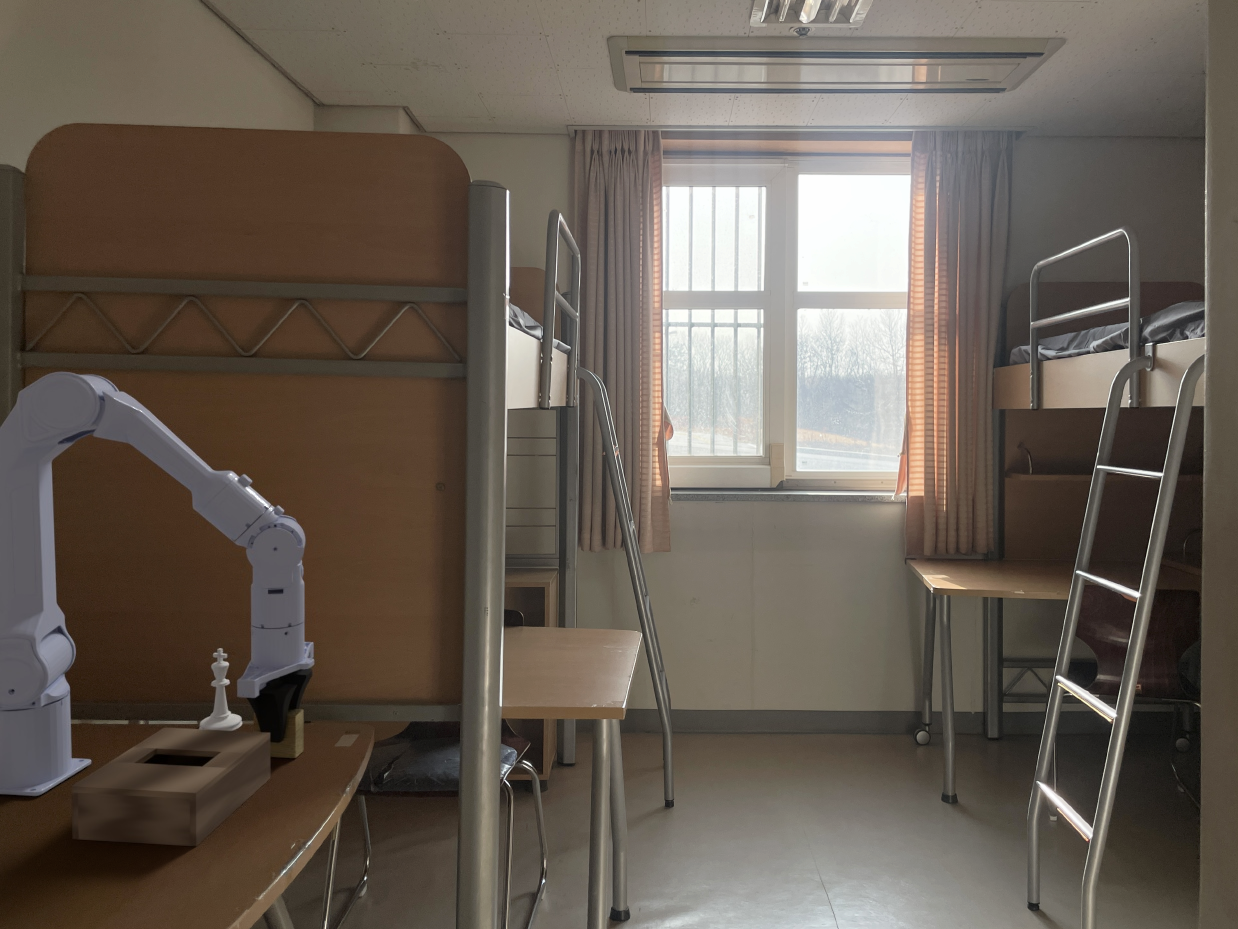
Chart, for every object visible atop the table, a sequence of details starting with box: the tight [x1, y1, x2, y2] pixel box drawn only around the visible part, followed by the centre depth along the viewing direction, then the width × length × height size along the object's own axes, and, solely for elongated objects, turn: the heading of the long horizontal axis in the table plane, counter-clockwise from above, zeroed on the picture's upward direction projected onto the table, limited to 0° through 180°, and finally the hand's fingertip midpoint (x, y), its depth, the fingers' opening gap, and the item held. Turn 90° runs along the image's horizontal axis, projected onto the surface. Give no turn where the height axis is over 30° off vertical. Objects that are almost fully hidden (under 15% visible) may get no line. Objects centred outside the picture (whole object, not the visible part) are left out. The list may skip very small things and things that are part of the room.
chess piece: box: [198, 648, 243, 731], centre depth 103 cm, size 5×5×10 cm
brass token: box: [253, 708, 304, 759], centre depth 95 cm, size 5×2×5 cm, turn 86°
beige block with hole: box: [70, 727, 271, 847], centre depth 83 cm, size 12×14×5 cm
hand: (278, 736), depth 95 cm, fingers closed on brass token, 2 cm apart
